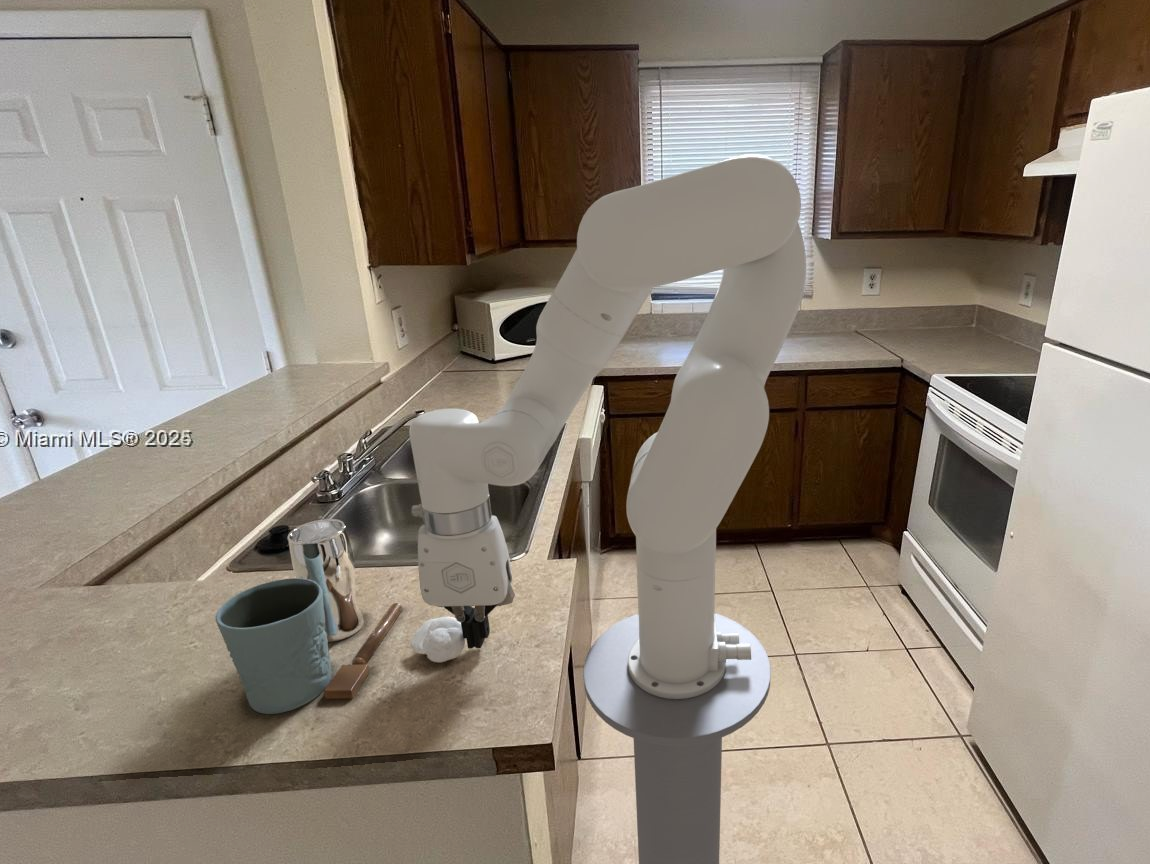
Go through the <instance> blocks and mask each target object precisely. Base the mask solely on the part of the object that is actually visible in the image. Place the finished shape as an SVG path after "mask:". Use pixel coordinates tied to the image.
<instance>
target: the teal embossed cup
mask: <svg viewBox="0 0 1150 864" xmlns="http://www.w3.org/2000/svg"><path fill="white" fill-rule="evenodd" d="M323 607H324V605H323V594H322V588H321V586H320V585H319V584H318V583H316V582H315V581H312V580H309V579H304V578H296V577H292V578H283V579H276V580H272V581H268V582H264V583H260V584H257V585H256V586H252V587H249V588H247V589H245V590H243V591H241V592H239V593H237V594H235V595H234V596H232V597H231V598H229V599H228V600H227V601H225V602H224V603H223V604H222V606H221V607H219V609H218V610H217V612H216V614H215V623H216V625H217V627H218V630H219V632H220V634H221V637H222V639H223V641H224V643H225V646H226V649H227V651H228V652H229V657H230V658H231V659H232V660H231V661H232V663H233V665H234V667H235V669H236V673H237V674H238V677H239V681H240V684H241V686H242V689H243V691H245V696H246V700H247V701H248V704H249V706H250V707H251V709H253V710H254V711H255V712H257V713H259V714H264V715H276V714H282V713H286V712H290V711H293V710H296V709H298V708H301V707H303V706H305V705H307V704H308V703H310V702H312V701H313V700H315V699H316V698H317V697H318V696H320V695H321V694H322V693H324V690H325V688H326V687H327V686H328V684H329V683H330V681H331V680H332V665H331V657H330V653H329V651H328V650H329V646H328V645H329V644H328V643H329V642H328V640H327V633H326V632H325V616H324V608H323Z"/></svg>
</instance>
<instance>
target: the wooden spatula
mask: <svg viewBox="0 0 1150 864" xmlns="http://www.w3.org/2000/svg"><path fill="white" fill-rule="evenodd" d="M402 610H403V606H402V604H401V603H398V602H395V603H392V604H391V605H390V606H389V608H388V609H387V611H386V612H385V613H384V615H383V616H382V617H381V619H380V621H379V622H378V623H377V625H376V626H375V627H374V629H373V630H372V632H371V633H370V635H369V636H368V637H367V639H366V640H365V642H364V643H363V644H362V646H361V647H360V649H359V650H358V652H357V653H356V654H355V656H354V658H353V659H352V661H351V664H341V666H340V668H339V669H338V670H337V672H335V675H333V677H332V678H331V680H330V682H329V684H328V686H327V687H326V688H325V689H324V691H323V693H324V697H325V699H326V700H331V699H333V700H334V699H337V700H338V699H354V698H355V696H356V694H357V693H358V691H359V690H360V688H361V687H362V685H363V684H364V682H365V680H366V679H367V677H368V676H369V674H370V673H371V671H370V668H369V664H367V663H368V662H369V661H370V659H371V657H372V656H373V654H375V651H376V650H377V649H378V647H379V645H380V644H381V642H382V641H383V639H384V638H385V636H386V635H387V634H388V632H389V631H390V628H392V626H393V624H394V623H395V622H396V621H397V618H398V617H399V615H400V614H401V612H402Z"/></svg>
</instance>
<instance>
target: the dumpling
mask: <svg viewBox="0 0 1150 864" xmlns="http://www.w3.org/2000/svg"><path fill="white" fill-rule="evenodd" d="M411 636H413V637H412V639H411V642H410V644H411V649H412V651H413V652H414V653H416V654H419V655H427V656H426V658H427V659H429V660H430V661H431V662H433V663H444V662H447V661H450V660H454V659H456V658H457V657H459V656H460V655H461V654H462V652H463V650H464V648H465V644H466V639H464V638H463V633H462V627H461V622H458V621H457V620H456V618H455V616H454V617H453V616H440V617H438V618H431V619H428V620H427V621H424V623H422V625H420V626H419V628H418V629H417V630H416V632H415V633H414V632H413V633H411Z"/></svg>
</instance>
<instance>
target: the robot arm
mask: <svg viewBox="0 0 1150 864" xmlns="http://www.w3.org/2000/svg"><path fill="white" fill-rule="evenodd" d="M801 211H802V199H801V192H800V189H799V185H798V183H797V181H796V179H795V177H794V176H793V174H792V173H791V171H790V170H789V169H788V168H787V167H786V166H785V165H784V164H782V163H781V162H780V161H778V160H776V159H775V158H772V157H770V156H766V155H763V154H742V155H738V156H734V157H731V158H728V159H725V160H721V161H718V162H716V163H712V164H709V165H705V166H702V167H699V168H695V169H692V170H688V171H685V172H682V173H678V174H675V175H672V176H668V177H666V178H662V179H659V180H655V181H652V182H648V183H643V184H641V185H637V186H632V187H629V188H624V189H621V190H620V189H619V190H617V191H616V190H615V191H613V192H611V193H608V194H605V195H603V196H601V197H600V198H598V199H597V200H595V201H594V202H593V203H592V204H591V205H590V206H589V207H588V208H587V210H586V211H585V213H584V214H583V215H582V219H580V220H581V221H580V222H579V226H578V230H577V235H576V249H575V251H574V253H573V254H572V257H571V259H570V262H568V264H567V266H566V268H565V270H564V272H563V274H562V276H561V277H560V279H559V281H558V282H557V285H556V286H555V288H554V290H553V291H552V293H551V295H550V297H549V298H548V300H547V302H546V304H545V306H544V307H543V309H542V311H541V313H540V314H539V316H538V319H537V322H536V325H535V331H536V332H535V333H536V341H535V346H534V349H533V352H532V354H531V356H530V358H529V360H528V363H526V367H525V368H524V370H523V372H522V374H521V376H520V377H519V379H518V381H517V383H516V384H515V386H514V388H513V390H512V392H511V393H510V394H509V397H508V398H507V400H506V401H505V403H504V404H503V405H502V407H501V408H499V409H498V410H497V411H496V412H495V413H494V414H493V415H492V416H491V417H488V418H487V419H484V420H481V421H479V419H478V417H477V415H475V413H473V412H471V411H469V410H467V409H462V408H440V409H435V410H430V411H427V412H424V413H422V414H419V415H417V416H416V417H415V418H414V419H412V421H411V423H410V424H409V425H410V426H409V430H408V431H409V440H410V446H411V451H412V458H413V462H414V468H415V475H416V480H417V486H418V492H419V496H420V503H419V504H413V505H412V506H411V516H412V517H419V518H421V519H422V525H421V526H420V527H419V529H418V536H417V565H418V566H417V567H418V568H417V569H418V579H419V587H420V594H421V597H422V600H423V602H424V603H425V604H427V605H428V606H432V607H438V608H444V609H446V610H447V611H448V612H449V613H451V614H452V615H454V618H456V620H457V621H458V622H461V627H462V633H463V638H464V639H465V640H466V645H467V648H468V649H474V648H475V649H481V648H482V646H483V645H484V642H485V639H488V638H489V636H490V634H491V633H490V632H491V629H490V627H491V626H490V621H489V614H490V613H491V612H492V611H493V610H494V609H495V608H496V607H502V606H506V605H511V604H512V603H513V602H514V600H515V597H516V594H515V591H514V588H513V585H512V584H511V583H512V582H513V570H512V565H511V559H510V555H509V550H508V545H507V543H506V538H505V535H504V532H503V529H502V527H501V524H500V521H499V519H498V517H497V516H496V515H493V514H492V513H493V512H492V506H491V498H490V490H489V485H492V486H499V487H514V486H519V485H521V484H524V483H526V482H528V481H529V480H530V479H531V478H533V476H534V475H535V474H536V473H537V471H538V470H539V468H540V466H541V465H542V463H543V461H544V460H545V459H546V456H547V454H548V453H549V451H550V449H551V448H552V447H553V445H554V444H555V442H556V440H557V439H558V437H559V435H560V433H561V431H562V429H563V428H564V426H565V425H566V423H567V421H568V420H569V418H570V416H571V414H572V413H573V411H574V410H575V408H576V406H577V405H578V403H579V401H580V400H581V398H582V397H583V395H584V393H585V392H586V391H587V389H588V387H589V385H590V384H591V382H592V381H593V379H594V378H595V377H596V376H597V375H598V374H599V373H600V372H601V371H602V370H604V369H605V367H606V366H607V364H608V362H609V361H610V360H611V358H612V356H613V355H614V353H615V351H616V350H617V348H618V346H619V345H620V344H621V341H622V340H623V338H624V336H625V335H626V333H627V332H628V330H629V328H630V327H631V325H632V323H633V321H634V320H635V318H636V317H637V315H638V314H639V312H640V310H641V309H642V307H643V305H644V303H645V302H646V300H647V299H648V297H649V296H650V294H651V292H652V290H653V289H654V288H656V287H661V286H665V285H670V284H673V283H677V282H681V281H685V280H689V279H692V278H696V277H699V276H703V275H707V274H710V273H714V272H717V271H721V270H722V276H721V280H720V283H719V285H718V288H717V291H716V293H715V296H714V297H713V299H712V302H711V305H710V307H709V310H708V312H707V315H706V318H705V320H704V322H703V324H702V326H701V328H700V330H699V332H698V334H697V336H696V338H695V341H694V343H693V344H692V347H691V349H690V350H689V352H688V354H687V356H686V358H685V359H684V361H683V363H682V365H681V366H680V368H679V370H678V371H677V373H676V376H675V378H674V379H673V384H672V389H671V390H672V391H671V396H670V402H669V405H668V407H667V410H666V412H665V415H664V417H663V419H662V421H661V424H660V426H659V428H658V430H657V432H655V433H653V434H652V435H650V437H648V438H647V439H646V440H645V441H644V442H643V444H642V445H641V447H640V448H639V450H638V452H637V454H636V456H635V460H634V463H633V466H632V471H631V475H630V479H629V480H630V481H629V486H628V490H627V495H626V502H625V503H626V504H625V505H626V506H625V509H626V510H625V511H626V518H627V522H628V525H629V527H630V529H631V531H632V533H633V534H634V536H635V547H636V548H635V552H636V553H635V555H636V560H635V561H636V585H637V614H638V617H639V640H638V641H637V642H636V643H635V644H634V645H633V647H632V648H631V650H630V652H629V656H628V669H629V673H630V676H631V678H632V679H633V681H634V682H635V683H636V684H637V685H638V686H639V687H640V688H641V689H643V690H644V691H646V692H648V693H650V694H652V695H655V696H658V697H662V698H667V699H686V698H691V697H695V696H699V695H701V694H704V693H706V692H708V691H709V690H711V689H712V688H714V687H715V686H716V685H717V684H718V683H719V682H720V680H721V679H722V677H723V675H724V673H725V669H726V659H737V660H751V645H750V644H739V633H731V634H721V633H720V632H716V625H715V621H714V613H716V611H715V607H716V605H715V604H716V602H715V600H716V593H715V592H716V561H717V528H718V526H719V525H720V523H721V521H722V520H723V518H724V516H725V514H726V513H727V511H728V509H729V507H730V505H731V504H732V502H733V500H734V498H735V497H736V494H737V493H738V490H739V489H740V487H741V485H742V483H743V482H744V480H745V478H746V476H747V474H748V472H749V471H750V468H751V466H752V464H753V463H754V461H755V459H756V457H757V455H758V454H759V451H760V449H761V447H762V445H763V443H764V439H765V437H766V433H767V430H768V426H769V421H770V405H769V399H768V395H767V391H766V389H765V386H766V382H767V380H768V377H769V375H770V373H771V370H772V368H773V367H774V365H775V363H776V360H777V359H778V357H779V355H780V353H781V350H782V348H783V345H784V343H785V341H786V339H787V337H788V334H789V333H790V331H791V328H792V327H793V324H794V321H795V319H796V316H797V315H798V312H799V309H800V306H801V303H802V300H803V296H804V292H805V287H806V279H807V255H806V247H805V242H804V236H803V233H802V229H801V226H800V224H799V220H800V217H801ZM725 644H729V645H725ZM731 644H736V645H731Z"/></svg>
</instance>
